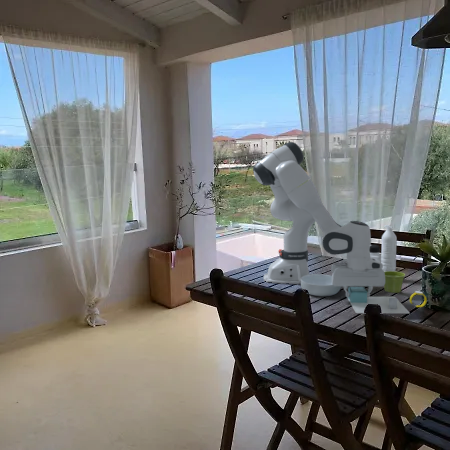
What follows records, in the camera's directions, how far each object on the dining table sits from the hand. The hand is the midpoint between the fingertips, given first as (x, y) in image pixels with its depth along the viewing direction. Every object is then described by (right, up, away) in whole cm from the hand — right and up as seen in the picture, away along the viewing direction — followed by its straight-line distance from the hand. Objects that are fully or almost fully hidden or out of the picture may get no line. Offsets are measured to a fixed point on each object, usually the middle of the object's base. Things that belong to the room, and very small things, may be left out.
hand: (357, 296), depth 172 cm
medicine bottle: (+24, +6, +54) cm, 59 cm away
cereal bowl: (-12, -2, +13) cm, 17 cm away
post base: (+6, -4, -5) cm, 8 cm away
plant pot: (+18, -1, +12) cm, 22 cm away
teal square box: (0, -1, 0) cm, 1 cm away
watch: (+22, -3, -5) cm, 23 cm away
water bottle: (+24, +3, +34) cm, 42 cm away
